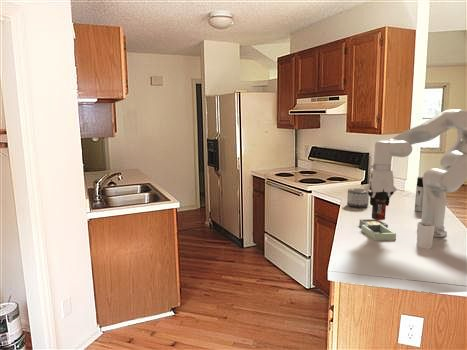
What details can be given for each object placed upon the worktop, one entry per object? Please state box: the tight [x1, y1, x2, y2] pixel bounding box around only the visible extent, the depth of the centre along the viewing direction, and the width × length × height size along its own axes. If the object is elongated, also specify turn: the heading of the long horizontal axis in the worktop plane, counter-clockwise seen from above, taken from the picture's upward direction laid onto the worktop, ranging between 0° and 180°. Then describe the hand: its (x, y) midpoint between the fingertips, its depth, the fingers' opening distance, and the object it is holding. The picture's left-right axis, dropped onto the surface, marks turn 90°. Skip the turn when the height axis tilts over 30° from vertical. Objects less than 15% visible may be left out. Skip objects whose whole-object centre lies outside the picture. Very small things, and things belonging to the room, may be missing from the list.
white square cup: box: [416, 221, 435, 249], centre depth 152 cm, size 7×7×10 cm
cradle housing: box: [358, 218, 389, 232], centre depth 178 cm, size 10×10×3 cm
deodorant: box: [371, 189, 387, 221], centre depth 165 cm, size 6×6×15 cm
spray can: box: [414, 176, 424, 213], centre depth 209 cm, size 7×7×20 cm
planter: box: [346, 187, 370, 209], centre depth 222 cm, size 13×13×10 cm
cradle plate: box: [365, 221, 381, 225], centre depth 178 cm, size 7×7×2 cm
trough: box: [361, 224, 397, 241], centre depth 167 cm, size 14×10×3 cm
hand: (379, 204), depth 165 cm, fingers closed on deodorant, 6 cm apart
